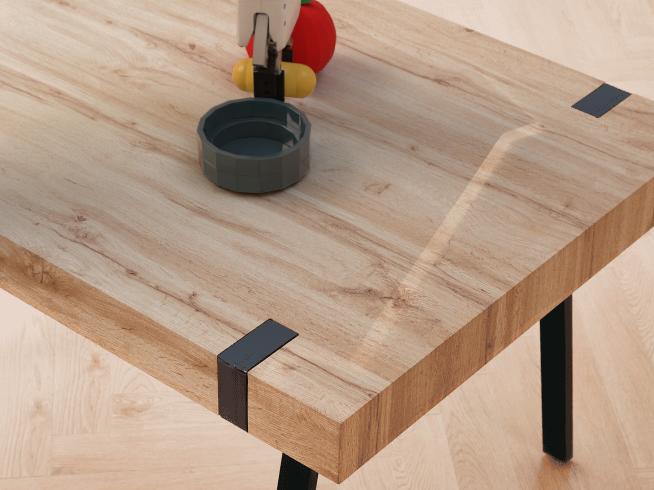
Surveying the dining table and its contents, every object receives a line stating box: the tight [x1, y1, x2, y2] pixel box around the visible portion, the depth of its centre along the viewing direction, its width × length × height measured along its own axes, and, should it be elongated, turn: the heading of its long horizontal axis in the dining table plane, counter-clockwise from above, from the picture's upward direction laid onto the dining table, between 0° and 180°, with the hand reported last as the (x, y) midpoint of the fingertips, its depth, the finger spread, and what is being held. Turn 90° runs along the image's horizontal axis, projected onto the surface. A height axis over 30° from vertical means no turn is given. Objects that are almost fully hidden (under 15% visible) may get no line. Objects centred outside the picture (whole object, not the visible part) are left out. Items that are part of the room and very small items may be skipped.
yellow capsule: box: [231, 57, 317, 99], centre depth 114 cm, size 9×4×4 cm, turn 82°
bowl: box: [196, 96, 312, 194], centre depth 109 cm, size 11×11×4 cm
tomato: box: [244, 0, 337, 76], centre depth 121 cm, size 10×10×10 cm
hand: (273, 90), depth 115 cm, fingers closed on yellow capsule, 3 cm apart
